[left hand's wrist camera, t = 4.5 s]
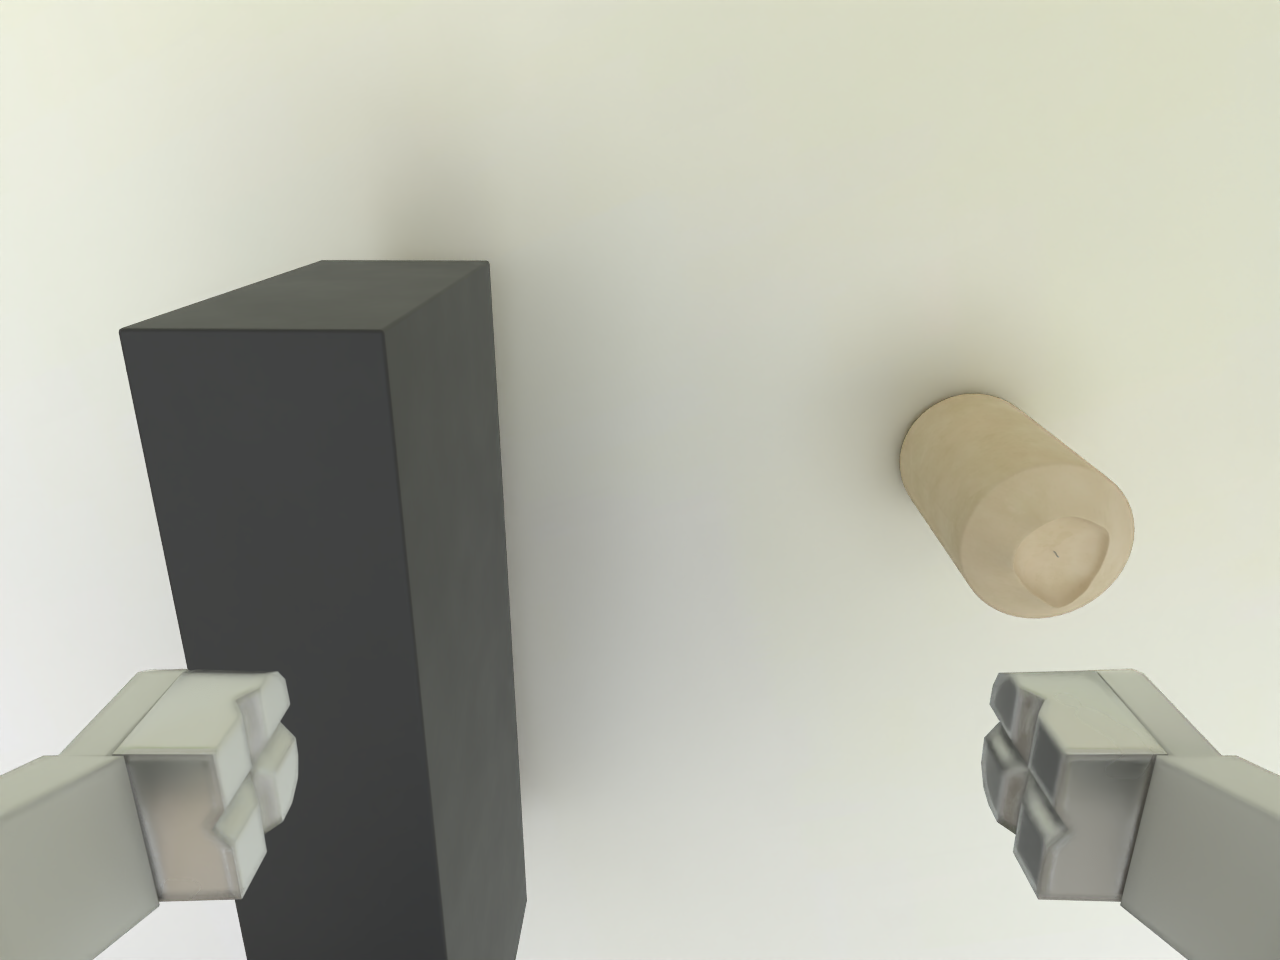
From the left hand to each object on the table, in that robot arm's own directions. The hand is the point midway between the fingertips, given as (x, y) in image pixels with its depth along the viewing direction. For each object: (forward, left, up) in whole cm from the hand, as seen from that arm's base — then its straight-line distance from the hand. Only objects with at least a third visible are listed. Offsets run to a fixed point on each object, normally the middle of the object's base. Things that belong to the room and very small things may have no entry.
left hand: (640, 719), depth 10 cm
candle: (+2, +14, -27) cm, 30 cm away
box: (+13, -5, -22) cm, 26 cm away
